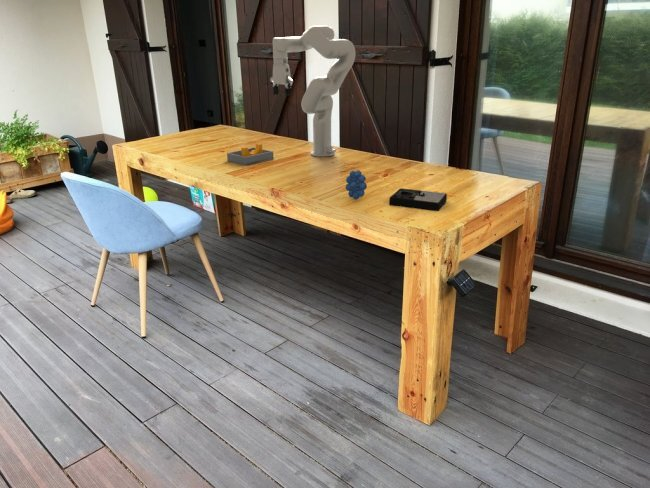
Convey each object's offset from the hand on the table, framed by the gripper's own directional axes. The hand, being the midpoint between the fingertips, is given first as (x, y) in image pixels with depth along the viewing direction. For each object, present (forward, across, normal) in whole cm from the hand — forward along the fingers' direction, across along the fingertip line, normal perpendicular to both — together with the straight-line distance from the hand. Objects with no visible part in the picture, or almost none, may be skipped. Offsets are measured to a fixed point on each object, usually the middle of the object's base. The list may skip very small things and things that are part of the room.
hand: (282, 95), depth 289 cm
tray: (+28, -10, +33) cm, 45 cm away
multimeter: (+29, -115, +36) cm, 124 cm away
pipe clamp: (+28, -11, +33) cm, 44 cm away
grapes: (+28, -94, +47) cm, 109 cm away
